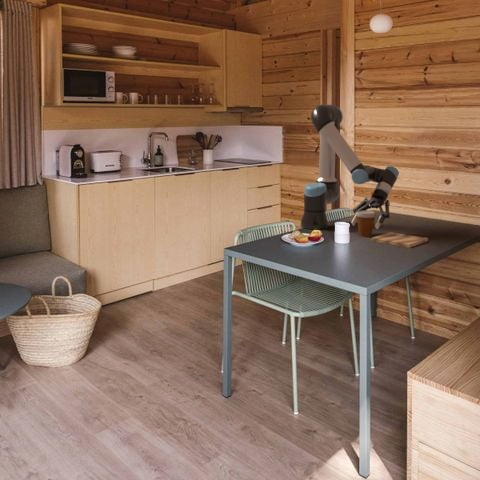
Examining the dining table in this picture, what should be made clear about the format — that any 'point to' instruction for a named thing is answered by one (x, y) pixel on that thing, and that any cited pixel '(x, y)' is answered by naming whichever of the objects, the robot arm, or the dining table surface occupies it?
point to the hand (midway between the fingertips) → (364, 225)
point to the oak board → (399, 239)
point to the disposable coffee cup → (365, 222)
